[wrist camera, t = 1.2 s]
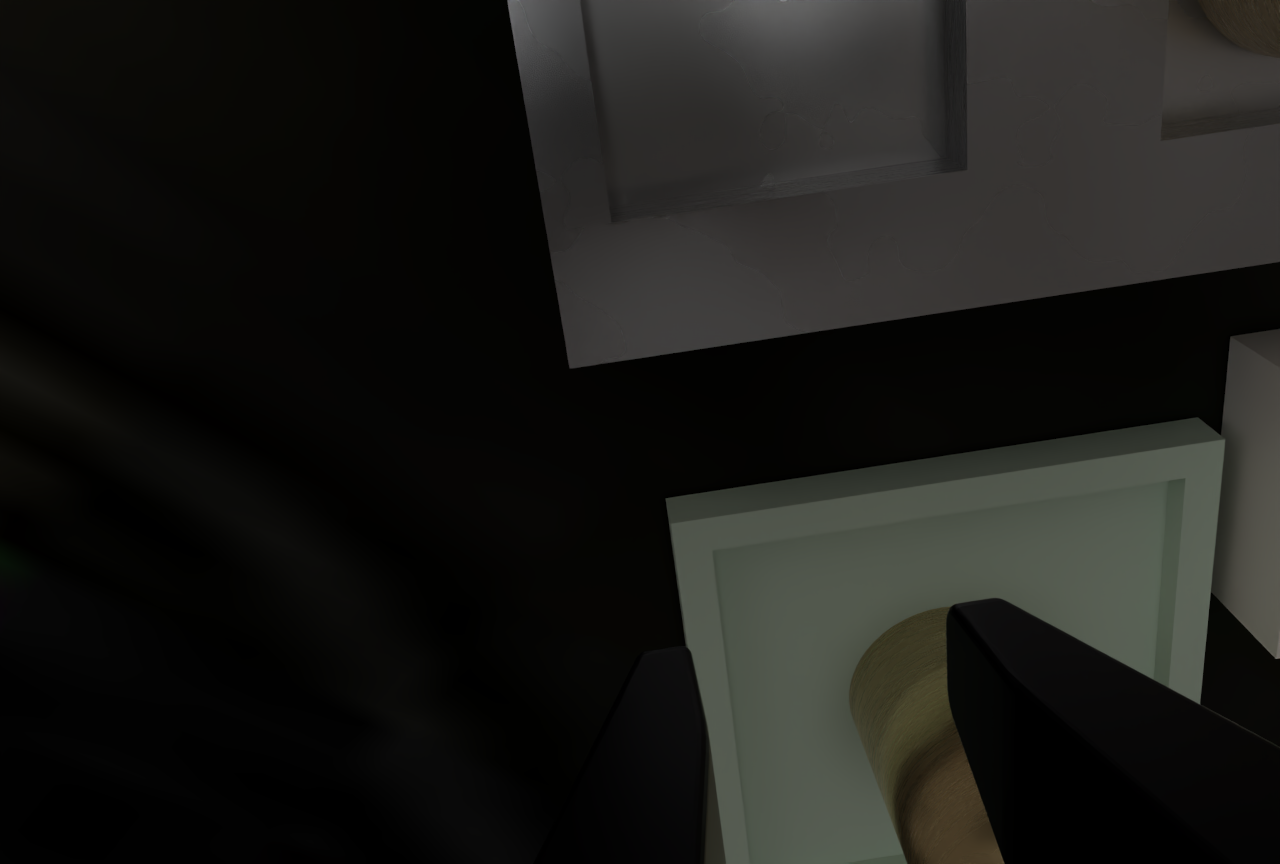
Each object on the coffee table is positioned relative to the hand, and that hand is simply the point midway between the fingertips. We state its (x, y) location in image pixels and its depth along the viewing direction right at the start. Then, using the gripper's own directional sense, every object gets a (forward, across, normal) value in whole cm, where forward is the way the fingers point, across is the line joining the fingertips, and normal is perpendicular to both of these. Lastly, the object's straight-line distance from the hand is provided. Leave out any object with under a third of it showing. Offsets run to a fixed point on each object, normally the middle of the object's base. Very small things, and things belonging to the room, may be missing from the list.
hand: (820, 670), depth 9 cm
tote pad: (+12, -4, +10) cm, 16 cm away
